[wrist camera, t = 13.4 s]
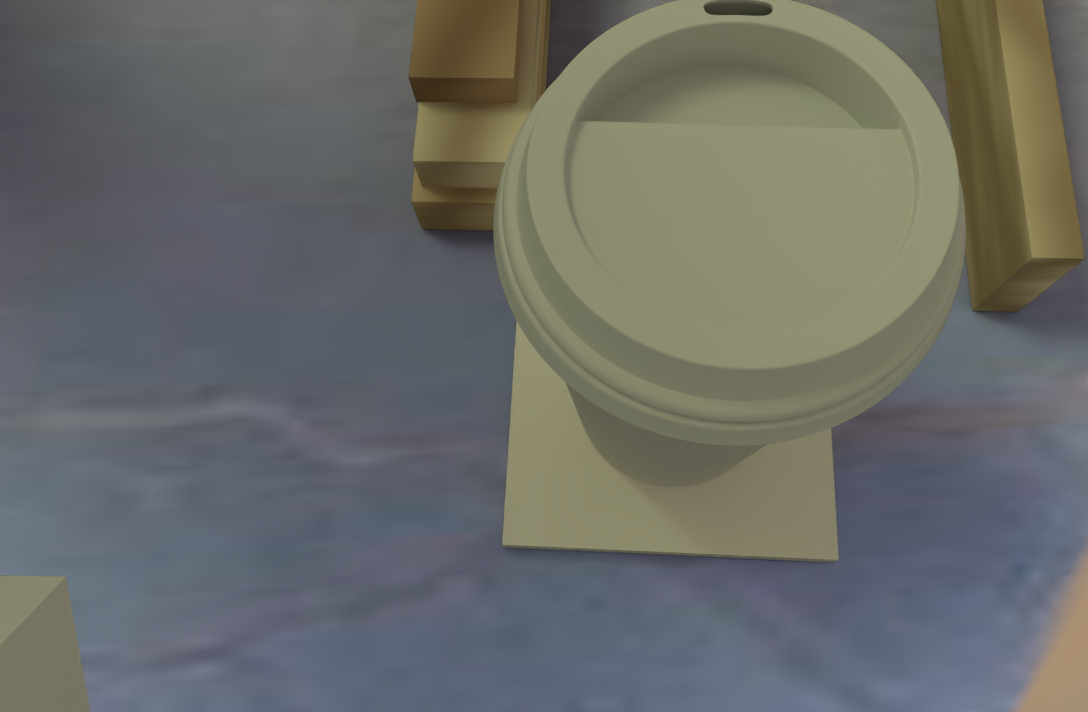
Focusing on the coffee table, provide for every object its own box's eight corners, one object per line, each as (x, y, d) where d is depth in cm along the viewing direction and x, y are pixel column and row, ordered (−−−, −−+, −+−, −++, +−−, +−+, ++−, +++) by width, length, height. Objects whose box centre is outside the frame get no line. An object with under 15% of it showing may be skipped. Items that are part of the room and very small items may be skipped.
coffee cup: (849, 332, 30) (1072, 55, 16) (747, 583, 28) (907, 514, 14) (603, 231, 32) (611, -98, 18) (486, 458, 30) (388, 282, 15)
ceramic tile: (504, 547, 29) (502, 544, 29) (523, 254, 33) (521, 245, 32) (832, 562, 29) (838, 559, 28) (815, 261, 32) (821, 252, 31)
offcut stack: (422, 228, 34) (391, 153, 28) (456, -93, 39) (435, -205, 34) (537, 231, 33) (527, 156, 28) (556, -93, 38) (551, -207, 33)
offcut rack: (417, 295, 33) (391, 242, 28) (464, -154, 40) (449, -250, 35) (1017, 311, 31) (1084, 258, 27) (954, -157, 38) (1000, -258, 34)
